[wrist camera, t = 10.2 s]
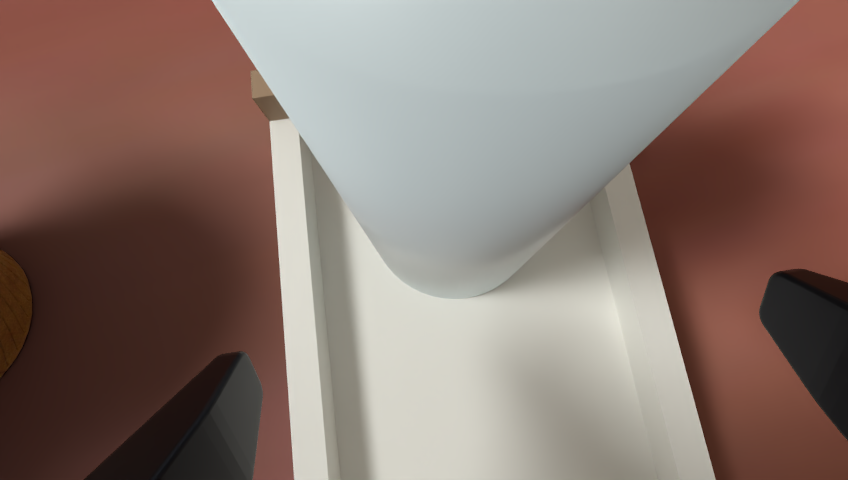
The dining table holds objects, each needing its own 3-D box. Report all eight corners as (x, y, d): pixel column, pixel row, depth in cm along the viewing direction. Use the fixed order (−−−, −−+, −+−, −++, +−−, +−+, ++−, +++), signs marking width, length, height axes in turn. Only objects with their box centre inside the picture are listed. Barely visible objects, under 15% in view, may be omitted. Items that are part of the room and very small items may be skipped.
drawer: (721, 656, 14) (832, 779, 10) (337, 713, 14) (297, 859, 10) (576, 86, 18) (613, 17, 14) (290, 129, 18) (250, 71, 14)
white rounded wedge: (570, 216, 16) (1051, -263, 3) (454, 335, 15) (528, 286, 3) (451, 111, 17) (485, -538, 5) (337, 217, 16) (-7, -216, 4)
